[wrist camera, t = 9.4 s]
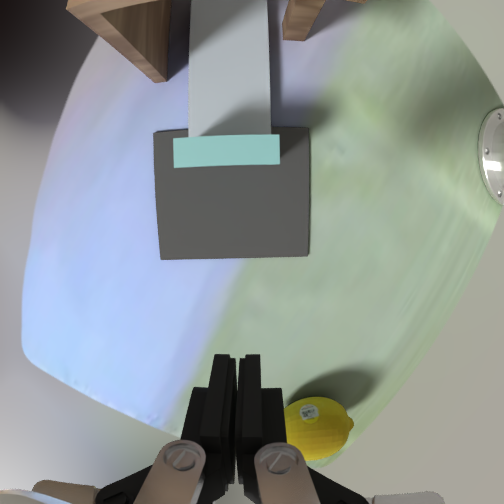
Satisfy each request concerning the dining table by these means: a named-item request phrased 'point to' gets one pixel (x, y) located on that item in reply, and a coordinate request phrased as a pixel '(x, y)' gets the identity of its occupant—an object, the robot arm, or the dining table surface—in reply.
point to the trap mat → (233, 203)
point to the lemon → (317, 426)
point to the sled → (228, 87)
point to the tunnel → (165, 27)
